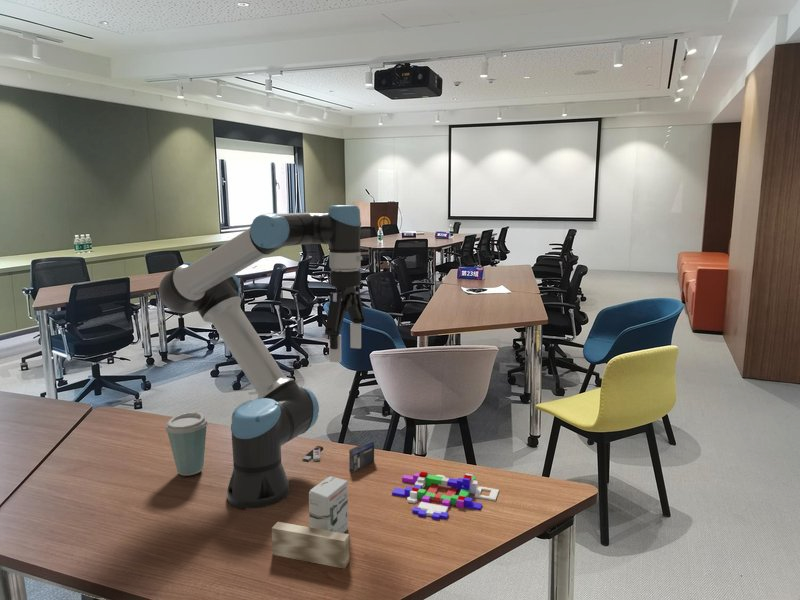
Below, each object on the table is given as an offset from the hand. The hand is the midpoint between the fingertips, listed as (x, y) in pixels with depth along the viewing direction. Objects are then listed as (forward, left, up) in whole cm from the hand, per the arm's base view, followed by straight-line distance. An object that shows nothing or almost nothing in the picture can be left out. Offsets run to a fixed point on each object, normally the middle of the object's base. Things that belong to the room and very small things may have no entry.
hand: (346, 354), depth 141 cm
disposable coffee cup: (-44, -5, -35) cm, 56 cm away
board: (+4, -31, -35) cm, 47 cm away
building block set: (+25, +1, -36) cm, 43 cm away
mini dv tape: (0, +11, -35) cm, 37 cm away
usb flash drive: (-15, +14, -35) cm, 41 cm away
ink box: (+4, -23, -35) cm, 42 cm away
